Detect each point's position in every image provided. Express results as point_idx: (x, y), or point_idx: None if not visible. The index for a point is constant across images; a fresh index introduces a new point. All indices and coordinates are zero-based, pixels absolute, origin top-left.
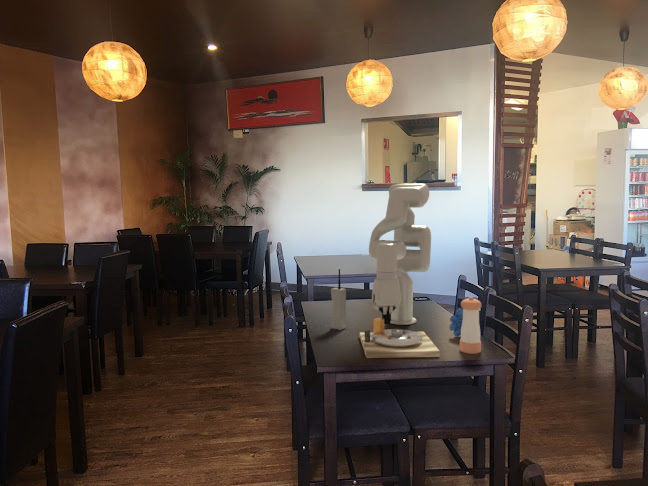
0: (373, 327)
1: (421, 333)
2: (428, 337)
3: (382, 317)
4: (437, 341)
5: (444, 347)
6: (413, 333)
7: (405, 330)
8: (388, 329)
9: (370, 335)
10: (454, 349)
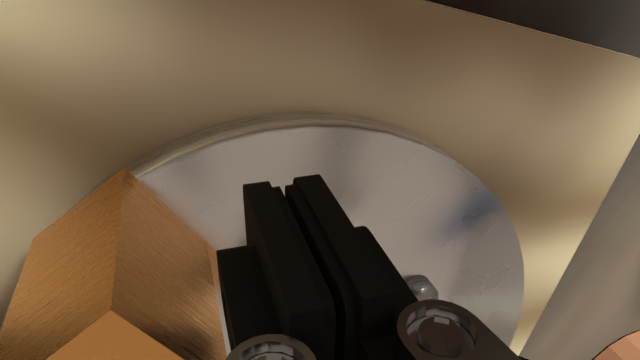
0: (16, 286)
1: (610, 135)
2: (572, 255)
3: (228, 310)
4: (612, 207)
5: (556, 325)
6: (478, 313)
7: (473, 210)
8: (306, 136)
9: (13, 102)
10: (574, 356)
